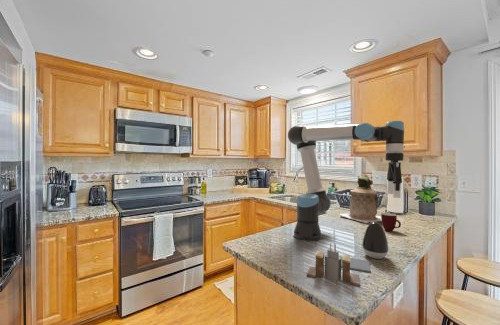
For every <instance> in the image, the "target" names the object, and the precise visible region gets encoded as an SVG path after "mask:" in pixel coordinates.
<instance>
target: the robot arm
mask: <svg viewBox="0 0 500 325" xmlns="http://www.w3.org/2000/svg"><path fill="white" fill-rule="evenodd" d="M404 124H405V123H404V121H402V120H391V121H387V122H386V124H385V125H384V126H383V125H382V126H381V125H380V126H374V125H372V124H371V123H369V122H361V123H358V124H344V125H343V124H340V125H325V126H310V127H309V126H308V125H294V126H292V127H291V128H290V129H289V130H288V133H287V138H288V140H289V142H290V143H291V144H293V145H294V146H295V145H296V148H297V149H296V150H297V151H298V152H300V157H301V163H302V168H303V172H304V176H305V182H306V186H307V187H306V188H307V190H306V193H302V194H299V195H298V196H297V198H296V199H297V200H296V214H297V215H296V224H295V227H294V230H293V237H294V238H295V239H298V240H301V241H306V242H313V241H320V240H321V239H322V235H323V234H322V232H321V228H320V225H319V215H321V214H325V213H326V212H328V211H329V209H330V208H331V204H332V200H331V198H330V197H329V195H327V191H326V189H325V188H324V187H323V185H322V184H323V183H322V180H321V176H320V171H319V170H320V169H319V166H318V161H317V157H316V156H317V155H316V152H315V151H316V148H317V145H316V144H317V141H319V142H320V141H345V140H346V141H357V140H358V141H361V142H363V143H365V142H366V143H369V142H385V152H386V153H385V161H388V168H387V176H386V180H387V194H388V195H393V198H397V199H400V198H401V191H402V190H401V188H402V187H401V186H402V185H401V184H402V183H403V179H402V178H403V177H402V168H401V164H402V162H403V161H404V156H405V155H404V153H403V152H404V148H405V147H406V146H405V145H404V143H405V141H404V140H405V125H404Z"/></svg>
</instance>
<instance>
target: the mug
mask: <svg viewBox="0 0 500 325" xmlns="http://www.w3.org/2000/svg"><path fill="white" fill-rule="evenodd" d="M380 216H381V219H382V221H381V223H382V224H381V225H382V227H383V229H384V231H386V232H393V231H394V229H398V228H400V227H402V224H401V221H400V220H399V219H397V214H395V213H391V212H389V213H388V212H381V214H380ZM397 223H398V226H396V224H397Z"/></svg>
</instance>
